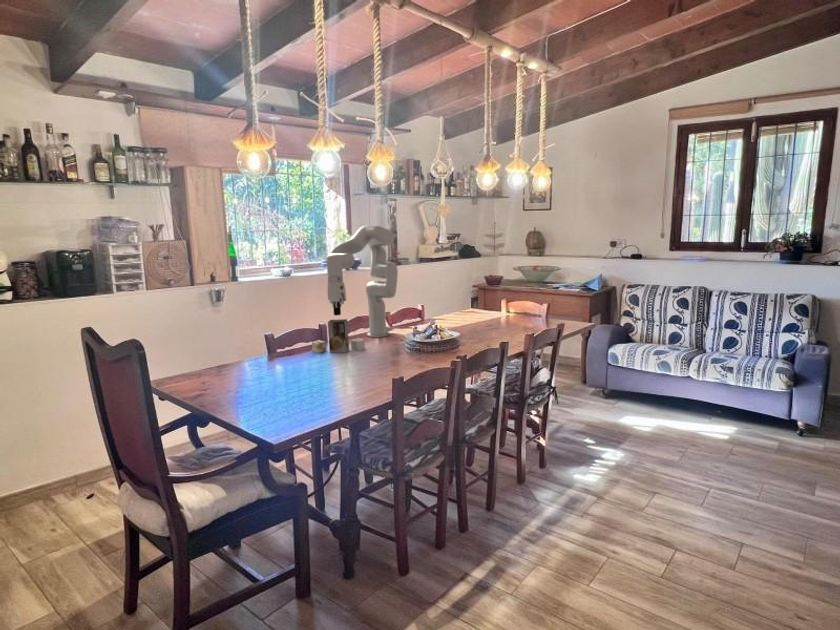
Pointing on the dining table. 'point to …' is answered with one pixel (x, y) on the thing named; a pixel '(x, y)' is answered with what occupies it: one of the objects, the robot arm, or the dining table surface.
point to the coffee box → (338, 335)
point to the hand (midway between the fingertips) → (337, 314)
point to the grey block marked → (357, 344)
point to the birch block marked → (318, 346)
